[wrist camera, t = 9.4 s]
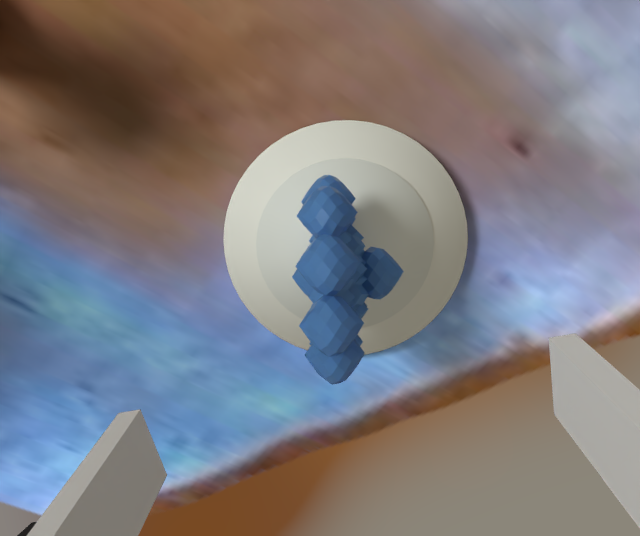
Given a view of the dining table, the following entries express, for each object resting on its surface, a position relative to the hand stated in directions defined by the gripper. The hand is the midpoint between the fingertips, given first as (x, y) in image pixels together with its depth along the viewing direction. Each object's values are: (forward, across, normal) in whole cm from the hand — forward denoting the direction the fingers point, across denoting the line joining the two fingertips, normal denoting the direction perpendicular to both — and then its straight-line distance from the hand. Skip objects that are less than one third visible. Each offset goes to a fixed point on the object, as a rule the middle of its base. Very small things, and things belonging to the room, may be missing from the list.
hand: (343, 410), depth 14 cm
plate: (+21, 0, 0) cm, 21 cm away
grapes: (+19, 0, 0) cm, 19 cm away
